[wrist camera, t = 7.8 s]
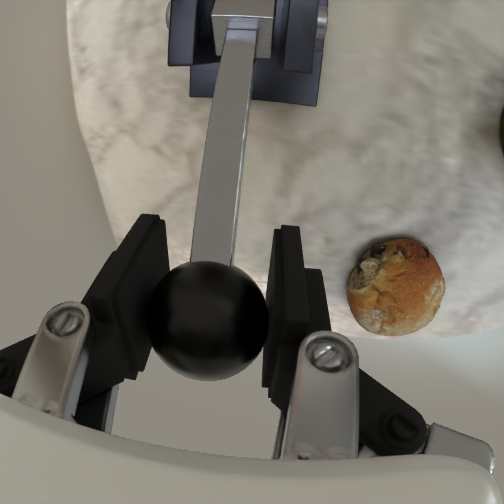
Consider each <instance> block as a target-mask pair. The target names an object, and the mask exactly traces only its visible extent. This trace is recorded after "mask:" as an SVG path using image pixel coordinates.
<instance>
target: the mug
mask: <svg viewBox="0 0 504 504" xmlns="http://www.w3.org/2000/svg"><path fill="white" fill-rule="evenodd" d="M501 133H502V143H503V152H504V115H503V120H502V131H501Z"/></svg>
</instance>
